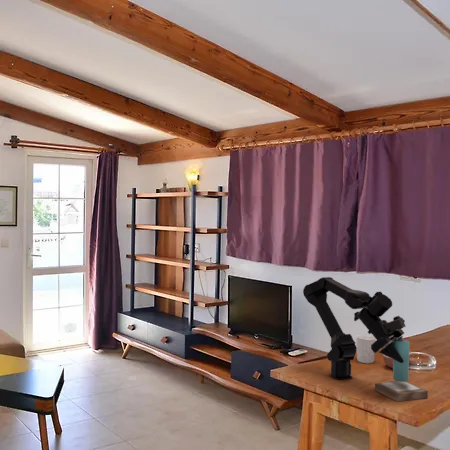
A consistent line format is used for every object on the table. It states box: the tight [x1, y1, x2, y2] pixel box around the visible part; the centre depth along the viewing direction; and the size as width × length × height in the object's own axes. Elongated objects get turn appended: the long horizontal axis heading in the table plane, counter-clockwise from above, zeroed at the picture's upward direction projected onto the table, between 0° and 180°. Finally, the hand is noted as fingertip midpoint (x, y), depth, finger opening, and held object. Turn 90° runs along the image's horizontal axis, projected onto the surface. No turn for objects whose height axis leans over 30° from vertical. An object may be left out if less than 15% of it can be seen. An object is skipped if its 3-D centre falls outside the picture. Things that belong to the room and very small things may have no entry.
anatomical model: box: [382, 349, 411, 369], centre depth 216 cm, size 23×10×5 cm, turn 158°
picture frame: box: [374, 380, 429, 402], centre depth 178 cm, size 12×12×3 cm
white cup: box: [355, 334, 376, 364], centre depth 219 cm, size 8×8×10 cm
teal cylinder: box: [392, 338, 410, 382], centre depth 178 cm, size 5×5×13 cm
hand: (405, 360), depth 178 cm, fingers closed on teal cylinder, 5 cm apart
